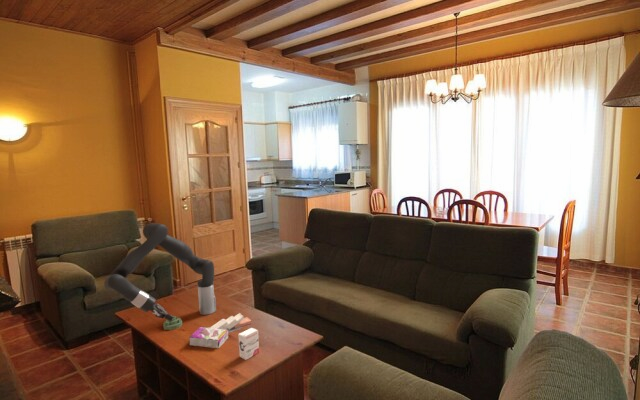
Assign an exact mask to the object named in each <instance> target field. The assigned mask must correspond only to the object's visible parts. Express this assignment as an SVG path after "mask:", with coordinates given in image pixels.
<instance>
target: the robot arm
mask: <svg viewBox="0 0 640 400" xmlns="http://www.w3.org/2000/svg"><path fill="white" fill-rule="evenodd" d="M168 233H169V230H168V227H167V226H166V225H165V224H162V223H156V222H151V223H147V224H146V225H144V227H143V228H142V234H143V237H144V238H145V239H146V240H145V241H144V242H143V243H142V244H140V245H139V246H138V247H136V248H135V249H132V251H130V252H129V253H128V254H126V255H125V257H124V258H123V259H122V261H120V263H119V265H117V266H116V267H115V269H114V270H113V271H111V273H110V274H108V276H106V278H105V279H104V282H103V284H104V288H105V289H106V290H108V291H116V292H117V293H118V294H120V295H121V297H122V298H123V299H125V300H127V302H130V303H131V304H132V305H134V306H135V307H136V308H137V309H140V310H141V311H143V312H144V313H148V312H149V311H151V314H153V315H155V316H154V317H156V318H159V319H166V320H169V321H171V320H172V319H173V316H174V315H173V316H172V314H170V313H168V311H167V310H166V309H165V308H164V307H163V306H162V305H161V304H160V303H156V302H157V299H156V298H155V297H153V296H152V295H151V294H149V293H147V292H146V291H145V290H143V289H140V288H139V287H138V286H135V285H134V284H133V283H132V282H130V281H129V280H128V279H127V278H128V276H129V275H131V274H132V273H133V272H134V270H136V268H137V267H138V266H139V265H140V263H142V261H143V260H144V259H145V258H146V257H147V256H148V255H149V254H150V253H151V252H152V251H153V250H154V249H155V248H157V246H159V247H161V248H162V249H164V251H166V253H169V254H170V255H171V256H173V257H174V258H175V259H177V260H178V261H180V262H182V263H183V264H185V265H187V266H188V267H189V268H190V269H191V270H192V271H193V272H194V273H196V274H198V275H202V276H201V277H202V278H201V279H199V280H197V292H198V293H197V296H198V306H199V314H200V315H203V316H204V315H206V316H207V315H211V314H213V313H215V312H217V304H216V303H217V302H216V300H217V299H216V296H215V289H214V287H215V285H214V281H215V265H214V262H213V261H212V260H209V259H205V258H202V257H198V256H197V255H195V254H194V253H193V250H192V248H191V247H190V246H189V245H187V244H186V243H185V242H184V241H182V240H180V239H178V238H175V237H173V236H171V235H169V234H168Z"/></svg>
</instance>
